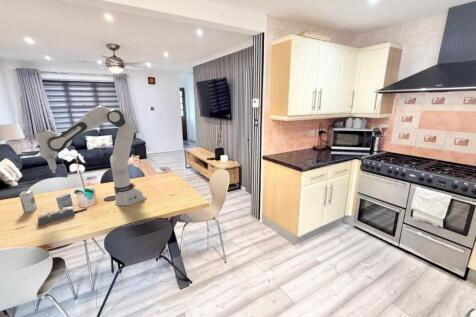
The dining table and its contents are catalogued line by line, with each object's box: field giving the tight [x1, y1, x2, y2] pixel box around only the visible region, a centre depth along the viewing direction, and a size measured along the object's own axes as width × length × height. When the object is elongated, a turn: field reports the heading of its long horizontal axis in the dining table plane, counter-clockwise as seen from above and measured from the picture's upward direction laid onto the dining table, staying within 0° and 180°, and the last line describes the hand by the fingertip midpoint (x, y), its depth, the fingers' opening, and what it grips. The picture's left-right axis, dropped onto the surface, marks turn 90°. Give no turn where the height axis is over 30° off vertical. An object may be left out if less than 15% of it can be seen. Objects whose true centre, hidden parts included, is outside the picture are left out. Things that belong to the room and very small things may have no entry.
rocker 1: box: [37, 211, 49, 220], centre depth 148 cm, size 5×4×2 cm
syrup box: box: [18, 190, 38, 213], centre depth 164 cm, size 6×6×14 cm
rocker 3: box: [63, 206, 74, 211], centre depth 156 cm, size 5×4×2 cm
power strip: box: [37, 205, 88, 226], centre depth 156 cm, size 27×8×4 cm, turn 132°
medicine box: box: [55, 193, 74, 209], centre depth 170 cm, size 8×4×9 cm, turn 160°
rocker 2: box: [49, 208, 61, 216], centre depth 152 cm, size 5×4×2 cm
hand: (54, 172), depth 158 cm, fingers closed
